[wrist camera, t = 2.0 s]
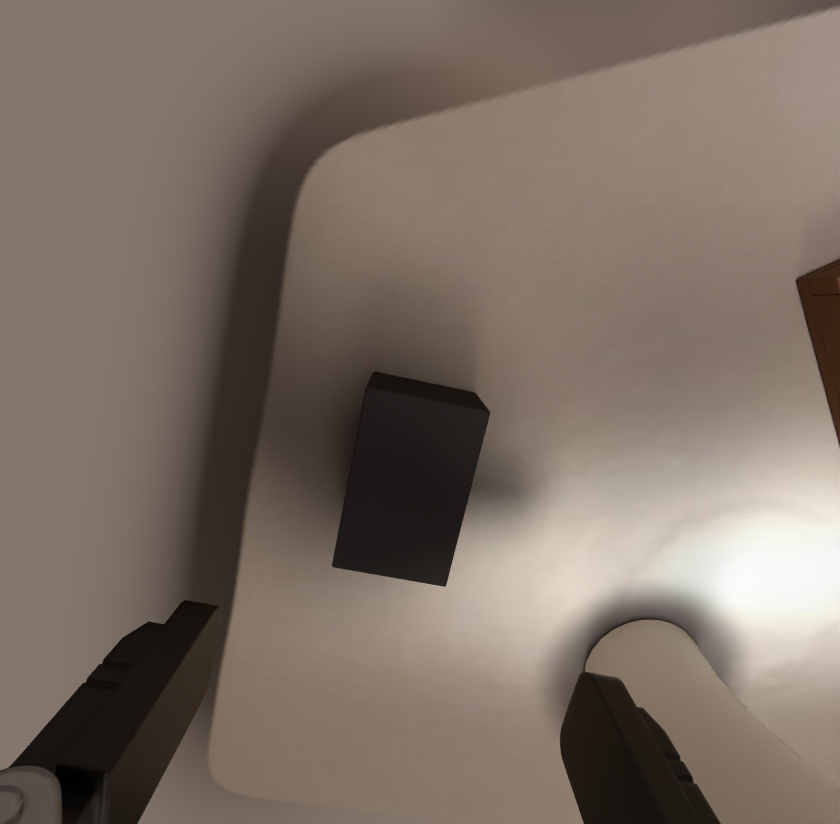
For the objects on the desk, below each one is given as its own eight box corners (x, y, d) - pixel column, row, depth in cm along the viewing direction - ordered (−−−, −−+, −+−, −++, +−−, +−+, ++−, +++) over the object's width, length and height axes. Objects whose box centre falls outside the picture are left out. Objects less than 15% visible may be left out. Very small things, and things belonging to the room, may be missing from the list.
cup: (726, 734, 27) (1027, 1138, 14) (550, 750, 27) (686, 1174, 14) (739, 577, 25) (1118, 887, 12) (546, 595, 25) (706, 928, 11)
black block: (373, 371, 22) (366, 386, 18) (475, 392, 22) (490, 411, 18) (344, 523, 23) (331, 567, 19) (439, 540, 24) (446, 587, 20)
